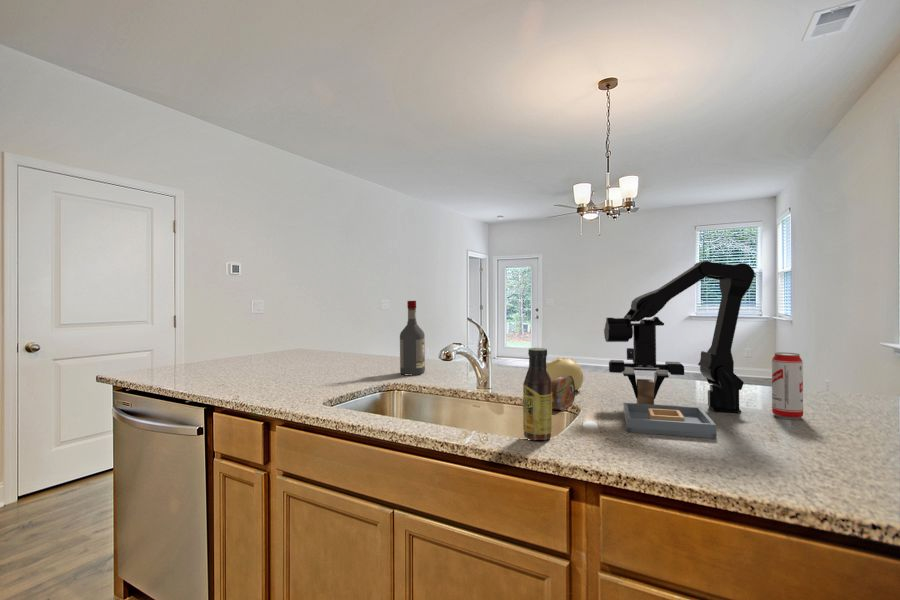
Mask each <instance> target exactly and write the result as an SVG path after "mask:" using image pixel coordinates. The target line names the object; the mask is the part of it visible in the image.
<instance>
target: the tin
mask: <svg viewBox="0 0 900 600" xmlns="http://www.w3.org/2000/svg"><path fill="white" fill-rule="evenodd" d="M551 391H552V410H556V411H565V410H566V409H567V408H569V407H571V406H573V404H574V401H575V397H576V390H575V384H574V380H573V378H572V376H570V375H569V376H561V377H559V378H557V379H555V380H553V381H552V384H551Z"/></svg>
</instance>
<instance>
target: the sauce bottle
mask: <svg viewBox="0 0 900 600" xmlns="http://www.w3.org/2000/svg"><path fill="white" fill-rule="evenodd" d="M528 357H529V358H528V359H529V360H528V368H527V372H526V376H525V378H524V381H523V385H522V386H523V387H522V388H523V389H522V390H523V393H522V394H523V395H522V397H523V398H522V399H523V400H522V402H523V403H522V406H523V407H522V409H523V411H522V412H523V414H522V415H523V416H522V417H523V418H522V421H523V423H522V425H523V426H522V427H523V428H522V430H523V436H524V438H526V439H528V440H530V441H532V440H544V441H548V440H550V439H551V438H552V431H553V430H552V429H553V428H552V427H553V416H552V415H553V409H552V391H551V384H552V382H551V378H550V376H549V374H548V372H547V371H546V368H547V366H546V364H547V357H548V349H547V348H544V347H531V348H528ZM547 439H548V440H547Z"/></svg>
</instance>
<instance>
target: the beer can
mask: <svg viewBox="0 0 900 600" xmlns="http://www.w3.org/2000/svg"><path fill="white" fill-rule="evenodd" d="M800 356H801V354H800V353H795V352H783V351H782V352H779V351H778V352H774V355H773V358H772V359H771V411H772V414H773V415H774V416H775V417H777V418H779V419H784V420H791V421H793V420H796V421H797V420H800V419H802V418H803V416H804V363H803V360H802V358H801V357H800Z"/></svg>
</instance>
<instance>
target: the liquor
mask: <svg viewBox="0 0 900 600" xmlns="http://www.w3.org/2000/svg"><path fill="white" fill-rule="evenodd" d="M406 302H407V305H406V307H407V322H406V326H404V328H403V329H402V330H401V332H400V334H399V352H400V353H399V365H400V366H399V368H400V369H399V371H400V374H401V373H402V374H412V375H411V376H421V375H420V374H422V375H424V373H425V371H426V359H425V358H426V354H425V353H426V350H425V348H426V347H425V345H426V344H425V343H426V341H425V339H426V338H425V332H424V330H423V329H422V328H421V327H420V326H419V325H418V322H417V300H407V301H406ZM402 374H401V375H402Z"/></svg>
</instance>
